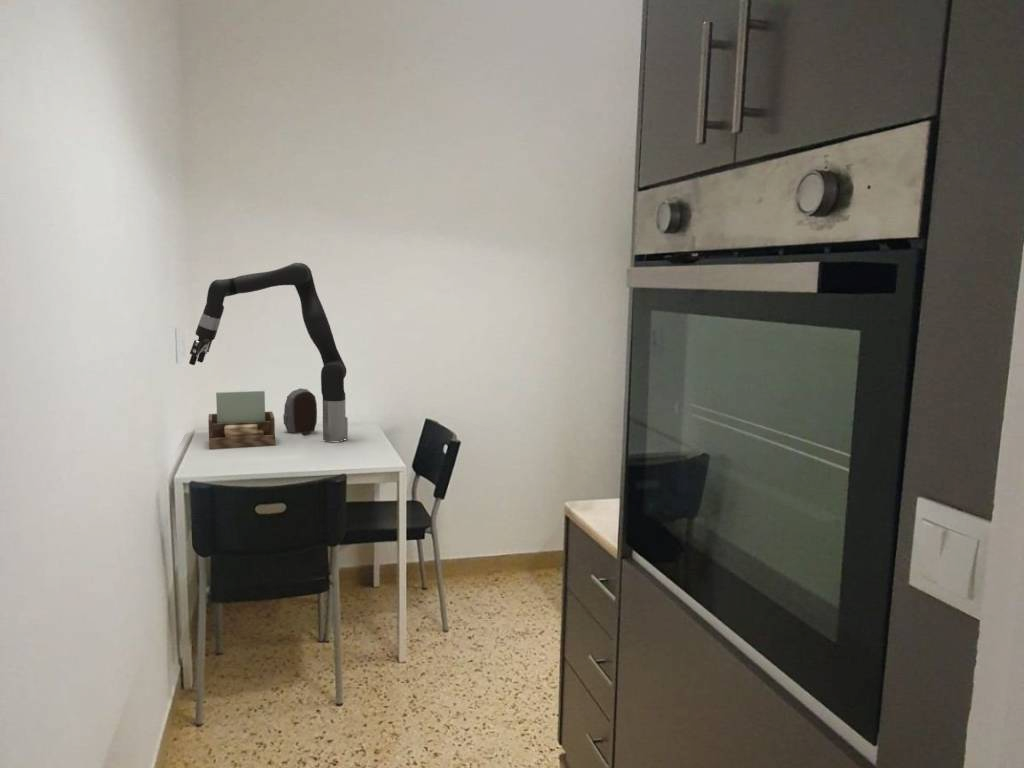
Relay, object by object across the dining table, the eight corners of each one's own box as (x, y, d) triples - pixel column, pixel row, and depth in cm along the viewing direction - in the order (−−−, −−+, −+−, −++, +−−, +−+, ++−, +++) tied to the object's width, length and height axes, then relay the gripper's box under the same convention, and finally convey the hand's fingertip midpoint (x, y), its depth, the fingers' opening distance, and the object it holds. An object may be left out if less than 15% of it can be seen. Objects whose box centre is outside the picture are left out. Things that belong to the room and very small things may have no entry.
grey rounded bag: (289, 437, 306) (288, 391, 303) (279, 434, 312) (278, 388, 309) (320, 432, 317) (320, 387, 314) (310, 429, 323) (310, 385, 320)
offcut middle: (262, 435, 292) (262, 429, 291) (263, 438, 287) (263, 432, 287) (224, 438, 286) (224, 431, 285) (225, 440, 281) (225, 434, 281)
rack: (272, 441, 300) (272, 411, 298) (275, 449, 287) (274, 418, 285) (209, 444, 291) (208, 414, 289) (209, 453, 278) (208, 421, 276)
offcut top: (257, 430, 290) (257, 424, 289) (257, 433, 285) (257, 426, 285) (225, 431, 286) (225, 425, 286) (224, 434, 281) (224, 428, 281)
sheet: (265, 439, 297) (264, 390, 294) (265, 440, 295) (264, 391, 292) (217, 441, 290) (216, 392, 287) (217, 442, 288) (216, 393, 285)
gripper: (210, 331, 289) (198, 368, 291) (223, 328, 303) (211, 364, 305) (192, 324, 288) (179, 362, 290) (205, 321, 302) (193, 357, 304)
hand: (195, 363), depth 297 cm, fingers open, 8 cm apart
